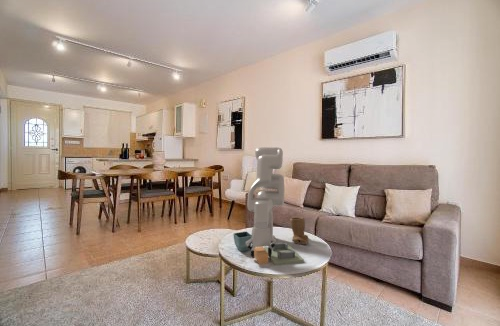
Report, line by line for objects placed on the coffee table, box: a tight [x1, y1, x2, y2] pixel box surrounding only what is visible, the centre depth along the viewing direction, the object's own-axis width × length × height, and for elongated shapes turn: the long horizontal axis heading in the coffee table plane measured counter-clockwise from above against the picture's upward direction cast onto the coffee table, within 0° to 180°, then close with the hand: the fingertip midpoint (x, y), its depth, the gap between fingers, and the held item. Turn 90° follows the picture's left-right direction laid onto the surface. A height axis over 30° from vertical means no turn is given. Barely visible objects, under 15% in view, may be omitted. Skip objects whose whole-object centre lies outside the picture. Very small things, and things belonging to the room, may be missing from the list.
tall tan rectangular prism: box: [254, 246, 269, 265], centre depth 134 cm, size 10×5×5 cm, turn 14°
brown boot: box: [289, 216, 309, 245], centre depth 161 cm, size 15×12×15 cm
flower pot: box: [233, 231, 252, 252], centre depth 147 cm, size 9×9×9 cm
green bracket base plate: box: [263, 242, 305, 266], centre depth 138 cm, size 20×16×4 cm
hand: (261, 256), depth 133 cm, fingers open, 8 cm apart
